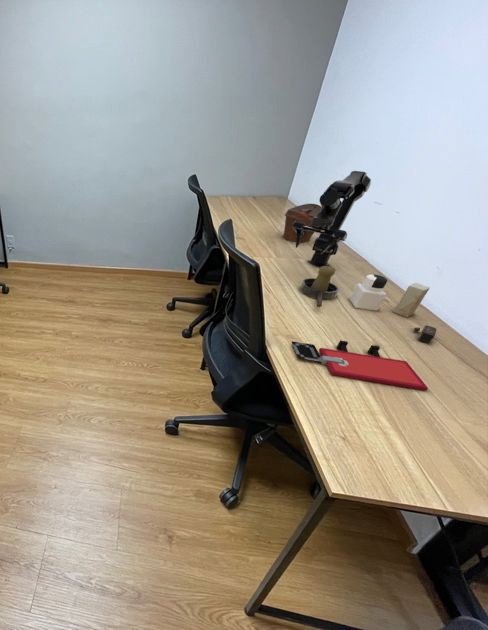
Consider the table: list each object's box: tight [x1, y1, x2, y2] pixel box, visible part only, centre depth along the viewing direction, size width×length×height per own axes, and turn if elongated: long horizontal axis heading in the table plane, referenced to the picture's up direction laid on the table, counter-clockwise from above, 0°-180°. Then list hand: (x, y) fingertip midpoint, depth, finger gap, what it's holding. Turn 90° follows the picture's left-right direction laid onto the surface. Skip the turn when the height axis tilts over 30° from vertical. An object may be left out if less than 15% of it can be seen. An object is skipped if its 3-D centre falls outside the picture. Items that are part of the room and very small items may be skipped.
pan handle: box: [316, 291, 323, 308], centre depth 128 cm, size 12×2×2 cm, turn 147°
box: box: [393, 282, 431, 318], centre depth 121 cm, size 5×4×11 cm
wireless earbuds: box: [413, 324, 438, 344], centre depth 111 cm, size 5×7×3 cm, turn 133°
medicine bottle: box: [349, 273, 388, 312], centre depth 126 cm, size 7×7×12 cm
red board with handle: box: [291, 340, 429, 391], centre depth 100 cm, size 30×3×15 cm
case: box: [283, 203, 322, 243], centre depth 186 cm, size 18×20×18 cm
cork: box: [310, 265, 336, 292], centre depth 135 cm, size 6×6×11 cm
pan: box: [299, 277, 340, 301], centre depth 137 cm, size 12×12×4 cm
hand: (308, 250), depth 140 cm, fingers open, 9 cm apart
